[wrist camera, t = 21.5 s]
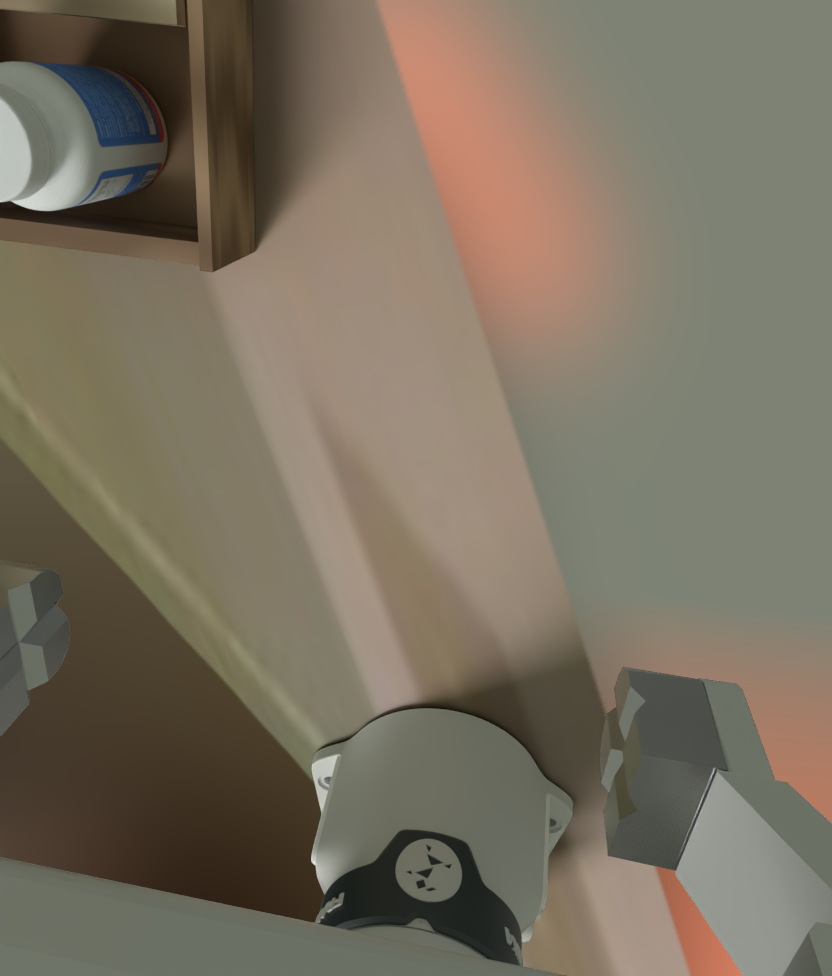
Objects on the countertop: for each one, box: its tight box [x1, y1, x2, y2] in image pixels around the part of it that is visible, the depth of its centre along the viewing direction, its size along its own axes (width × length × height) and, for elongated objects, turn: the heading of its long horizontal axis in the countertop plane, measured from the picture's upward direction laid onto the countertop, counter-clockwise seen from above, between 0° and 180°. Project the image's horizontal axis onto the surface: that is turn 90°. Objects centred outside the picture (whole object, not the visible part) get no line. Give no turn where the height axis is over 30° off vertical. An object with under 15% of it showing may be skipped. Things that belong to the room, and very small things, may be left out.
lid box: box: [0, 0, 255, 272], centre depth 32 cm, size 13×13×6 cm
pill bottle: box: [0, 61, 168, 211], centre depth 31 cm, size 6×5×10 cm
